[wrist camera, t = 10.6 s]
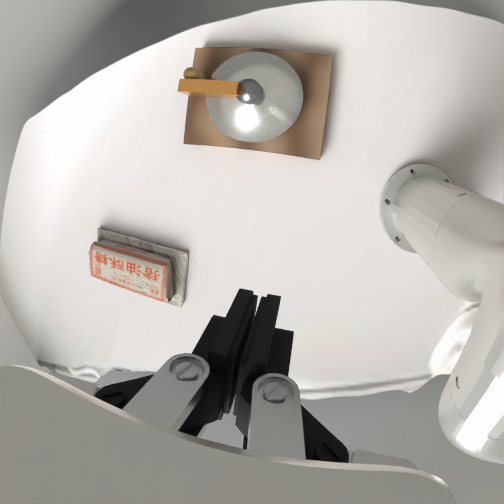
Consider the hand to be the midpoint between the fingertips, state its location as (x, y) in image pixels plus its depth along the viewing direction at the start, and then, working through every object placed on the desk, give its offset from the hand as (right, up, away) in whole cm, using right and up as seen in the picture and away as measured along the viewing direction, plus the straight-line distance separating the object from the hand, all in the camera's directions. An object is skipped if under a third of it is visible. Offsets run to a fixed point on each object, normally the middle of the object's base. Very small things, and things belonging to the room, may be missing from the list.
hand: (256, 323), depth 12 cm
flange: (-1, +22, +21) cm, 31 cm away
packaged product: (-19, +1, +36) cm, 41 cm away
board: (+1, +23, +23) cm, 32 cm away
